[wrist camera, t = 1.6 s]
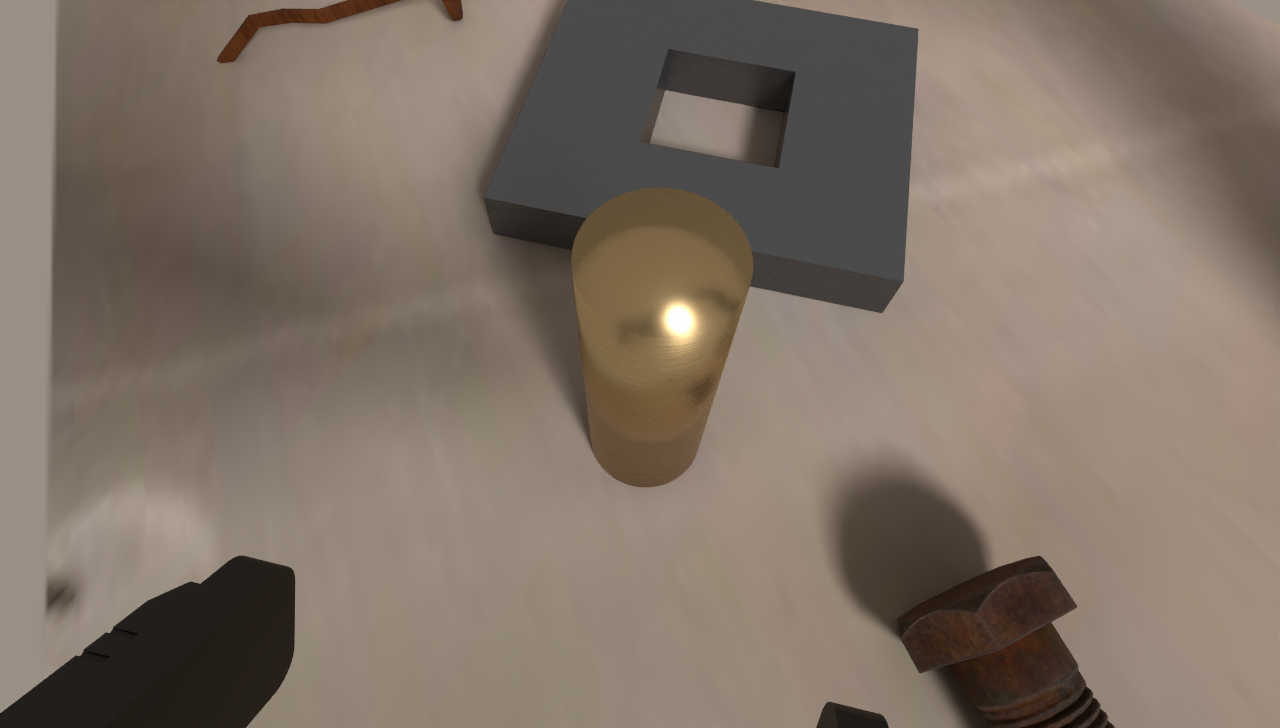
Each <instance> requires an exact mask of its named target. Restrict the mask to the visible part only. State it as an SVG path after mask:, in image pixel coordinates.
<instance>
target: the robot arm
mask: <svg viewBox="0 0 1280 728" xmlns="http://www.w3.org/2000/svg"><path fill="white" fill-rule="evenodd" d="M294 635H295V575H294V572H293V570H292V569H291V568H290V567H287V566H283V565H279V564H275V563H271V562H267V561H263V560H259V559H255V558H251V557H247V556H237V557H235V558H233V559H231V560H230V561H228V562H227V563H226V564H224V565H223V566H222V567H221V568H220V569H218V570H217V571H216V572H215V573H213V574H212V575H211V576H210V577H208V578H207V579H206V580H205V581H203V582H202V583H201V584H198V583H194V582H188V583H186V584H184V585H181V586H179V587H177V588H175V589H173V590H170V591H168V592H166V593H164V594H161V595H159V596H157V597H155V598H153V599H150V600H148V601H147V602H145V603H144V604H143V605H142V606H140V607H139V608H138V609H136V610H135V611H134V612H132V613H131V614H130V615H128V616H127V617H126V618H125V619H123V620H122V621H121V622H119V623H118V624H117V625H115V626H114V627H113V630H112V631H111V633H105V634H104V635H102V636H101V637H100V638H98V639H97V640H96V641H94V642H93V643H92V644H90V645H89V646H88V647H87V648H85V649H84V651H83V653H82V655H81V656H75V657H73V658H72V659H71V660H70V661H68V662H67V663H66V664H64V665H63V666H62V667H60V668H59V669H58V670H56V671H55V672H54V673H53V674H51V675H50V676H49V677H47V678H46V679H45V680H43V681H42V682H41V683H39V684H38V685H37V686H36V687H34V688H33V689H32V690H31V691H29V692H28V693H26V694H25V695H24V696H22V697H21V698H20V699H19V700H17V701H16V702H15V703H13V704H12V705H11V706H9V707H8V708H7V709H5V710H4V711H3V712H2V713H0V728H246V727H247V726H248V724H249V723H250V722H251V721H252V720H253V719H254V717H255V716H256V715H257V714H258V713H259V712H260V710H261V709H262V708H263V707H264V706H265V704H266V703H267V702H268V701H269V700H270V699H271V697H272V696H273V695H274V694H275V692H276V691H277V690H278V688H279V687H280V685H281V684H282V682H283V680H284V678H285V676H286V674H287V672H288V670H289V667H290V664H291V661H292V658H293V653H294ZM816 728H888V724H887V722H886V719H885V718H884V716H883V715H881V714H877V713H873V712H869V711H865V710H861V709H857V708H853V707H849V706H845V705H841V704H837V703H833V702H828V703H826V705H825V706H824V708H823V710H822V713H821V716H820V718H819V721H818V724H817V727H816Z"/></svg>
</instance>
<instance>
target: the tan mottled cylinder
mask: <svg viewBox="0 0 1280 728" xmlns="http://www.w3.org/2000/svg"><path fill="white" fill-rule="evenodd" d="M571 264H572V275H573V284H574V293H575V303H576V312H577V321H578V330H579V339H580V349H581V358H582V367H583V376H584V385H585V395H586V404H587V413H588V422H589V431H590V441H591V446H592V450H593V453H594V455H595V457H596V459H597V461H598V462H599V464H600V465H601V467H602V468H603V469H604V470H605V471H606V472H607V473H608V474H610V475H611V476H612V477H613V478H615V479H617V480H618V481H620V482H623V483H625V484H628V485H631V486H637V487H655V486H660V485H663V484H666V483H669V482H671V481H673V480H675V479H676V478H678V477H679V476H680V475H682V474H683V473H684V472H685V471H686V470H687V469H688V467H689V466H690V465H691V463H692V462H693V460H694V458H695V456H696V454H697V451H698V448H699V445H700V441H701V438H702V435H703V432H704V429H705V426H706V423H707V419H708V416H709V413H710V410H711V407H712V404H713V400H714V397H715V394H716V391H717V388H718V385H719V382H720V378H721V375H722V372H723V369H724V366H725V363H726V359H727V356H728V353H729V350H730V347H731V344H732V340H733V337H734V334H735V331H736V328H737V325H738V322H739V318H740V315H741V312H742V309H743V306H744V303H745V299H746V296H747V293H748V290H749V287H750V283H751V279H752V275H753V256H752V251H751V247H750V244H749V242H748V239H747V237H746V235H745V233H744V231H743V230H742V228H741V227H740V225H739V224H738V223H737V221H736V220H735V219H734V218H733V217H732V216H731V215H730V214H729V213H728V212H727V211H725V210H724V209H723V208H722V207H720V206H719V205H717V204H716V203H714V202H712V201H711V200H709V199H707V198H705V197H703V196H700V195H697V194H695V193H692V192H688V191H684V190H680V189H673V188H659V187H657V188H645V189H639V190H634V191H630V192H627V193H624V194H621V195H619V196H616V197H614V198H612V199H611V200H609V201H607V202H605V203H604V204H602V205H601V206H600V207H598V208H597V209H596V210H595V211H594V212H593V213H592V214H590V215H589V217H588V218H587V219H586V220H585V222H584V223H583V224H582V226H581V228H580V229H579V231H578V233H577V235H576V238H575V240H574V244H573V248H572V256H571Z"/></svg>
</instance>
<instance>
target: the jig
mask: <svg viewBox="0 0 1280 728" xmlns="http://www.w3.org/2000/svg"><path fill="white" fill-rule="evenodd" d="M917 45H918V29H916V28H910V27H905V26H899V25H893V24H887V23H881V22H876V21H870V20H864V19H858V18H852V17H847V16H841V15H835V14H829V13H823V12H818V11H812V10H806V9H800V8H794V7H789V6H783V5H777V4H771V3H765V2H760V1H754V0H568V1H567V4H566V6H565V8H564V11H563V13H562V16H561V18H560V20H559V23H558V25H557V27H556V30H555V32H554V34H553V37H552V39H551V41H550V44H549V46H548V48H547V51H546V53H545V55H544V58H543V60H542V62H541V65H540V67H539V69H538V72H537V74H536V76H535V79H534V81H533V83H532V86H531V88H530V90H529V93H528V95H527V97H526V100H525V102H524V104H523V107H522V109H521V112H520V114H519V116H518V119H517V121H516V123H515V126H514V128H513V130H512V133H511V135H510V137H509V140H508V142H507V144H506V147H505V149H504V151H503V154H502V156H501V158H500V161H499V163H498V165H497V168H496V170H495V172H494V175H493V177H492V179H491V182H490V184H489V186H488V189H487V191H486V193H485V196H484V200H485V204H486V207H487V211H488V215H489V219H490V222H491V226H492V230H493V233H494V234H498V235H503V236H508V237H513V238H518V239H523V240H528V241H533V242H538V243H542V244H547V245H552V246H557V247H562V248H567V249H572V248H573V244H574V240H575V238H576V235H577V233H578V231H579V229H580V228H581V226H582V224H583V223H584V222H585V220H586V219H587V218H588V217H589V215H590V214H592V213H593V212H594V211H595V210H596V209H597V208H598V207H600V206H601V205H602V204H604V203H605V202H607V201H609V200H611V199H612V198H614V197H616V196H619V195H621V194H624V193H627V192H630V191H634V190H639V189H645V188H657V187H659V188H673V189H680V190H684V191H688V192H692V193H695V194H697V195H700V196H703V197H705V198H707V199H709V200H711V201H712V202H714V203H716V204H717V205H719V206H720V207H722V208H723V209H724V210H725V211H727V212H728V213H729V214H730V215H731V216H732V217H733V218H734V219H735V220H736V221H737V223H738V224H739V225H740V227H741V228H742V230H743V231H744V233H745V235H746V237H747V239H748V242H749V244H750V247H751V251H752V256H753V275H752V279H751V283H750V286H753V287H757V288H762V289H767V290H772V291H777V292H782V293H787V294H792V295H796V296H801V297H806V298H811V299H816V300H821V301H826V302H831V303H836V304H840V305H845V306H850V307H855V308H860V309H865V310H870V311H875V312H880V313H882V312H883V311H884V310H885V308H886V307H887V305H888V304H889V302H890V301H891V299H892V298H893V296H894V295H895V293H896V292H897V290H898V289H899V288H900V286H901V285H902V283H903V281H904V264H905V247H906V230H907V214H908V197H909V180H910V163H911V146H912V129H913V112H914V95H915V79H916V62H917ZM665 90H669V91H675V92H680V93H686V94H691V95H697V96H702V97H707V98H713V99H718V100H724V101H729V102H735V103H740V104H745V105H751V106H756V107H762V108H767V109H772V110H778V111H783V112H784V118H783V123H782V129H781V134H780V140H779V146H778V151H777V157H776V162H775V168H774V167H769V166H764V165H758V164H753V163H748V162H743V161H737V160H732V159H727V158H722V157H716V156H711V155H706V154H701V153H695V152H690V151H685V150H680V149H674V148H669V147H664V146H659V145H654V144H649V143H650V139H651V136H652V132H653V129H654V126H655V122H656V119H657V116H658V112H659V109H660V106H661V102H662V99H663V95H664V92H665Z"/></svg>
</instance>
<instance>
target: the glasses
mask: <svg viewBox="0 0 1280 728" xmlns="http://www.w3.org/2000/svg"><path fill="white" fill-rule="evenodd" d="M397 1H400V0H347V1H343V2H340V3H337V4H334V5H330V6H327V7H324V8H321V9H279V10H274V11H269V12H263V13H258V14H253V15H248V17H247V18H246V20H245V21H244V22H243V24H242V25H241V26H240V28H239V29H238V30H237V32H236V33H235V35H234V36H233V37H232V39H231V40H230V41H229V43H228V44H227V45H226V47H225V48H224V49H223V51H222V52H221V53H220V55H219V56H218V58H217V61H218V62H219V63H226V62H234V60H235V59H236V58H237V56H238V55H239V54H240V52H241V51H242V50H243V48H244V47H245V46H246V44H247V43H248V42H249V40H250V39H251V38H252V36H253V35H254V34H255V32H256V31H257V30H258V28H259V27H264V26H271V25H278V24H285V23H324V24H325V23H328V22H332V21H335V20H338V19H341V18H345V17H348V16H351V15H354V14H358V13H361V12H364V11H368V10H371V9H374V8H377V7H381V6H384V5H387V4H390V3H394V2H397ZM442 1H443V3H444V5H445V7H446V9H447V11H448V13H449V14H450V16H451V17H452V19H453V20H454V21H456V20H460V19H462V17H463V11H462V4H461V0H442Z"/></svg>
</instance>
